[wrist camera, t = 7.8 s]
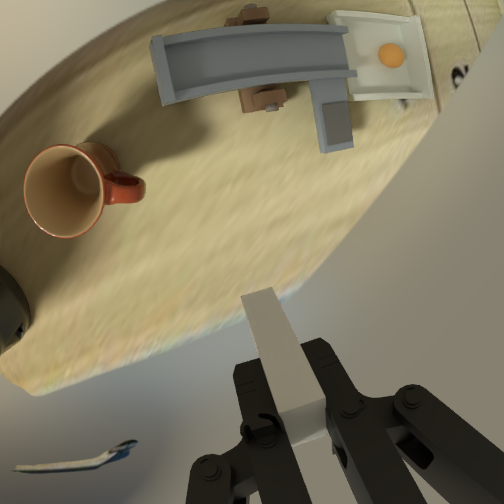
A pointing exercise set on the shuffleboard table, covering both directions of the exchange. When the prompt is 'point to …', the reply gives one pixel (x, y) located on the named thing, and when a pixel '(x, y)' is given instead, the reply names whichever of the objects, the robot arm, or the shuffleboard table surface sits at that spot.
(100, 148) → the mug
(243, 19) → the fulcrum
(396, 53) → the ball
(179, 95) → the lever
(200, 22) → the shuffleboard table surface
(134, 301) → the shuffleboard table surface
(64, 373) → the shuffleboard table surface
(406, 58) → the tray
